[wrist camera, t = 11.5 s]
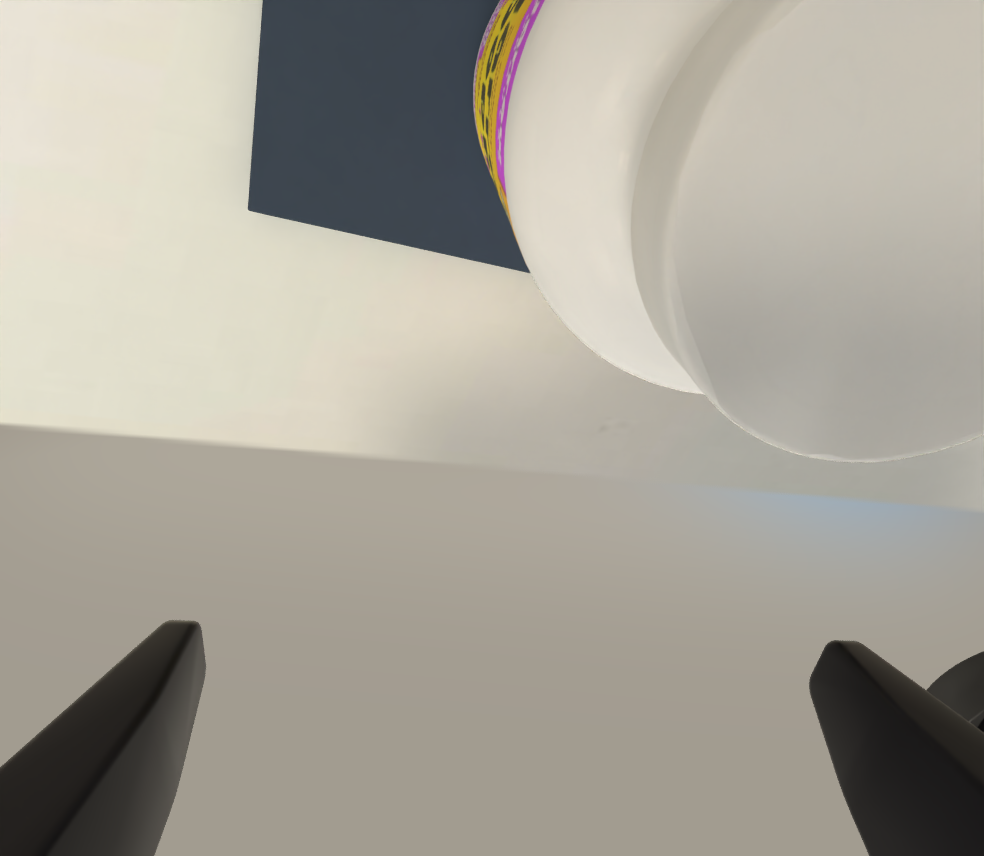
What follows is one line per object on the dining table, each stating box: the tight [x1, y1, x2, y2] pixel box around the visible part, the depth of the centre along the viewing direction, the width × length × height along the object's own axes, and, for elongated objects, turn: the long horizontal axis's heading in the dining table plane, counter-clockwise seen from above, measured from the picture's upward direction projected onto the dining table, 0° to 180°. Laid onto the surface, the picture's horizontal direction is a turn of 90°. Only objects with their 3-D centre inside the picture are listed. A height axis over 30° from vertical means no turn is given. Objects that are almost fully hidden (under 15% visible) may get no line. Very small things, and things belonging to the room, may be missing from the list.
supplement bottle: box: [473, 0, 984, 463], centre depth 11 cm, size 7×7×13 cm
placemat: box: [248, 0, 530, 273], centre depth 17 cm, size 16×10×1 cm, turn 76°
